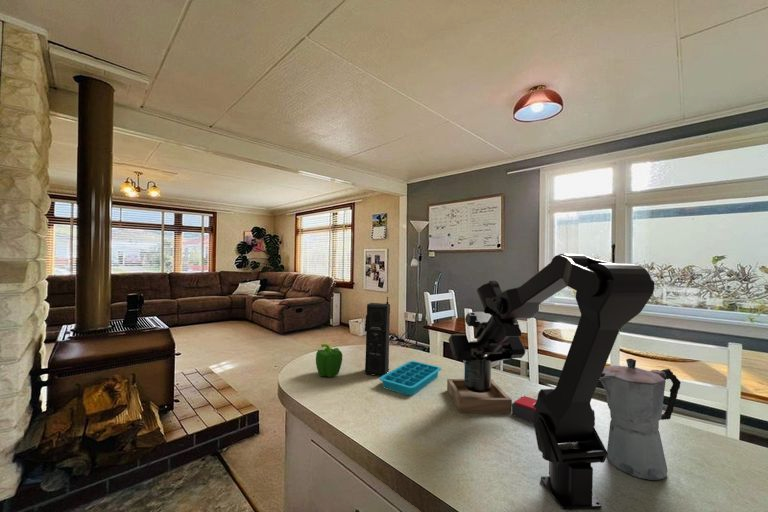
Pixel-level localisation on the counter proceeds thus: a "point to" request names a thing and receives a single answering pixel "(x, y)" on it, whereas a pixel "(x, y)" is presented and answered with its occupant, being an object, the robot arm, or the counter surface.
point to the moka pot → (637, 418)
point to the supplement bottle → (478, 373)
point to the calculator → (526, 407)
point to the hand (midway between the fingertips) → (475, 361)
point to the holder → (479, 398)
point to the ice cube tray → (410, 377)
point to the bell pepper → (328, 361)
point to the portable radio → (377, 338)
